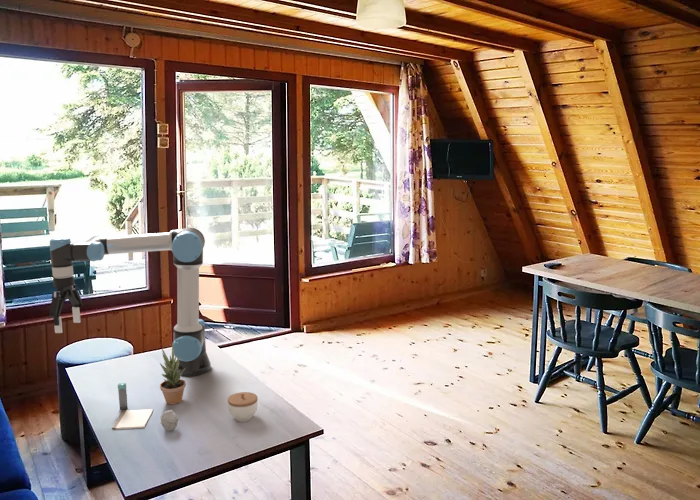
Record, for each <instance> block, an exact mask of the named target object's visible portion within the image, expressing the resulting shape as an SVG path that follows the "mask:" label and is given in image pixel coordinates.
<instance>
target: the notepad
mask: <svg viewBox="0 0 700 500" xmlns="http://www.w3.org/2000/svg"><path fill="white" fill-rule="evenodd" d="M153 412H154V409H153V408H151V409H149V408H147V409H146V408H145V409H130V410H129V409H127V410H123V411H121V413H120V414H119V416H118V418H117V420H116V421H115V423H114V424H113V426H112V427H111V429H114V430H130V429H133V428H134V429H145V427H146V426H147V424H148V422H149V420H150V418H151V416H152V414H153Z"/></svg>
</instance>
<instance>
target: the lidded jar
mask: <svg viewBox="0 0 700 500" xmlns="http://www.w3.org/2000/svg"><path fill="white" fill-rule="evenodd" d="M227 404H228V411H229V413H230V415H231V417H232V418H234V420H235V419H236V420H235V421H237V422H248V421H250V420H251V419H252V418H253V417H254V415H256V412H257V409H258V395H257V394H256V393H254V392H249V391H248V392H247V391H244V392H243V391H242V392H235V393H233V394H232V395H230V396H228V398H227ZM249 419H250V420H249ZM247 420H248V421H247Z"/></svg>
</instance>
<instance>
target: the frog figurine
mask: <svg viewBox="0 0 700 500" xmlns="http://www.w3.org/2000/svg"><path fill="white" fill-rule="evenodd" d="M160 424H161V426H162V428H163V429H164V430H165V431H167V432H173V431H174V430H176V428H178V427H177V426H178V424H179V418H178V415H177V414H176V413H175V412H174V410H173V409H168V410H165V411H163V412H162V414H161V415H160Z"/></svg>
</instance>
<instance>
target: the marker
mask: <svg viewBox="0 0 700 500" xmlns="http://www.w3.org/2000/svg"><path fill="white" fill-rule="evenodd" d="M117 391H118V392H117V393H118V402H119V411H120V410H122V411H123V410H129V409H128V408H129V407H128V397H127V396H128V395H127V383H126V382H121V383H118V384H117ZM122 411H121V412H122Z"/></svg>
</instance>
